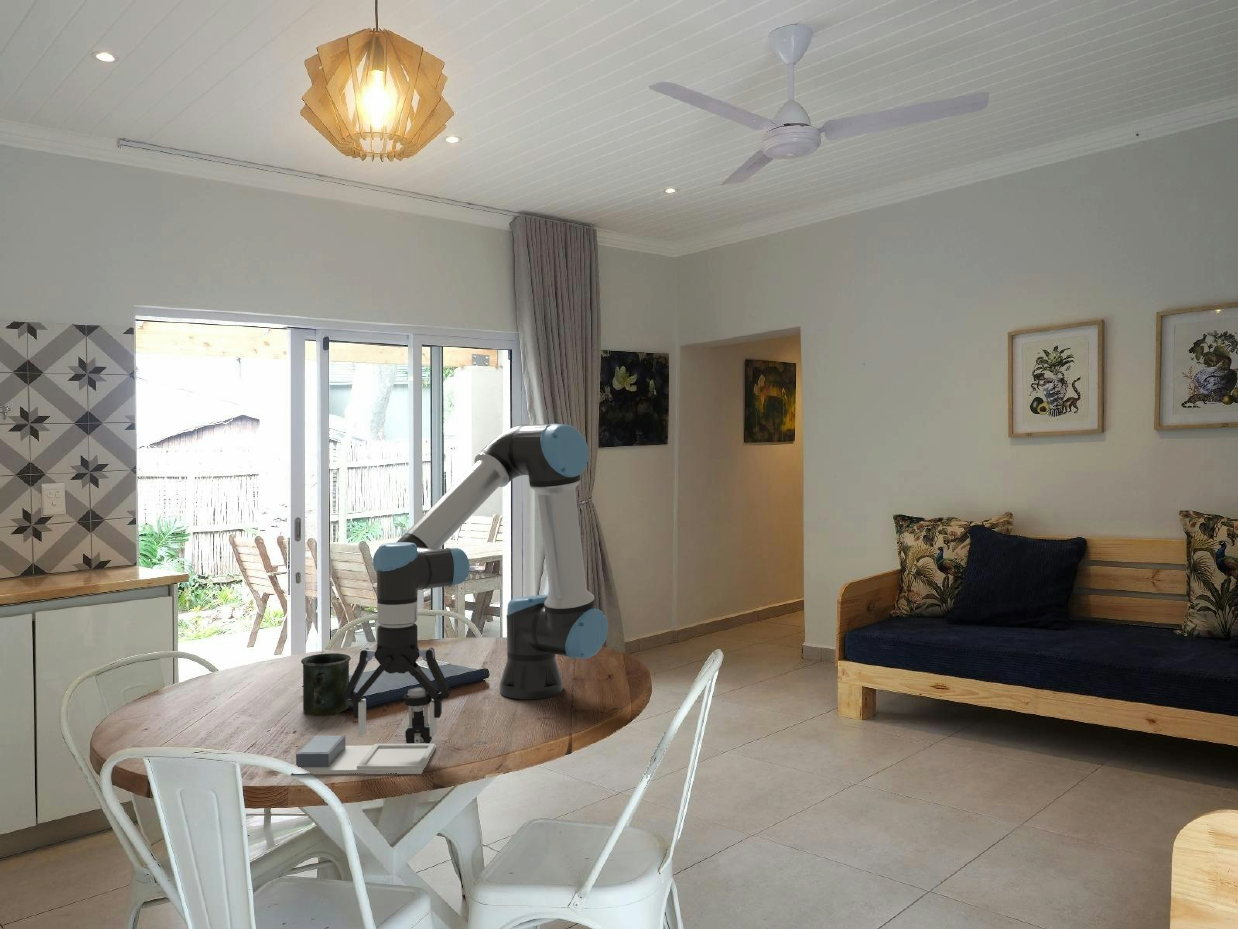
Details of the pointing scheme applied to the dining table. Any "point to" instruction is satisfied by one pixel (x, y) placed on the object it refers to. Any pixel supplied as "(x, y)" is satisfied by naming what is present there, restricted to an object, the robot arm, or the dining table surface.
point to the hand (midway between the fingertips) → (397, 734)
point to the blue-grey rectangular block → (320, 751)
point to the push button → (417, 717)
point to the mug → (325, 683)
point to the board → (379, 759)
